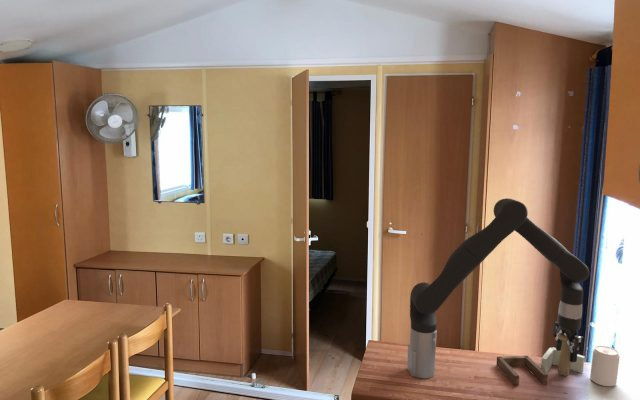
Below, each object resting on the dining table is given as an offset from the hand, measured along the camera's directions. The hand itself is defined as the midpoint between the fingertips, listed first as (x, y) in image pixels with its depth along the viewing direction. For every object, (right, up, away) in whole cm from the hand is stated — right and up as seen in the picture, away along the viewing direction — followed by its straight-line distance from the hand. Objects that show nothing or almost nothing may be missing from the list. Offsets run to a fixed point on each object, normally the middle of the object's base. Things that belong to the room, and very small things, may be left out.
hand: (565, 355), depth 177 cm
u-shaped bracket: (-16, -7, +1) cm, 18 cm away
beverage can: (+11, -8, -4) cm, 15 cm away
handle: (0, -7, +1) cm, 7 cm away
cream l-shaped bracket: (-1, -6, +6) cm, 8 cm away
